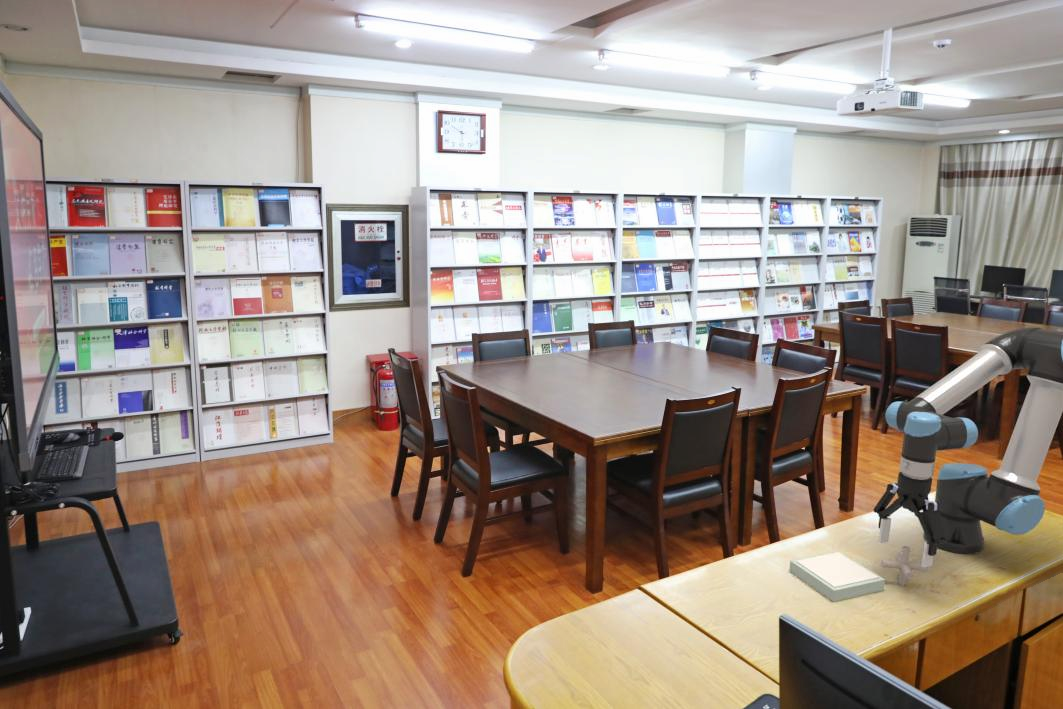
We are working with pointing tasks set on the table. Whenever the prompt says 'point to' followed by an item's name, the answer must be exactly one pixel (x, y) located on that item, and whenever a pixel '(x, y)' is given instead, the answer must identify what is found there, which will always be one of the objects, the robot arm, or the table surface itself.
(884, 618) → the table surface
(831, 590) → the stand
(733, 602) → the table surface
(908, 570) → the pipe connector
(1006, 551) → the table surface
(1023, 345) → the robot arm
